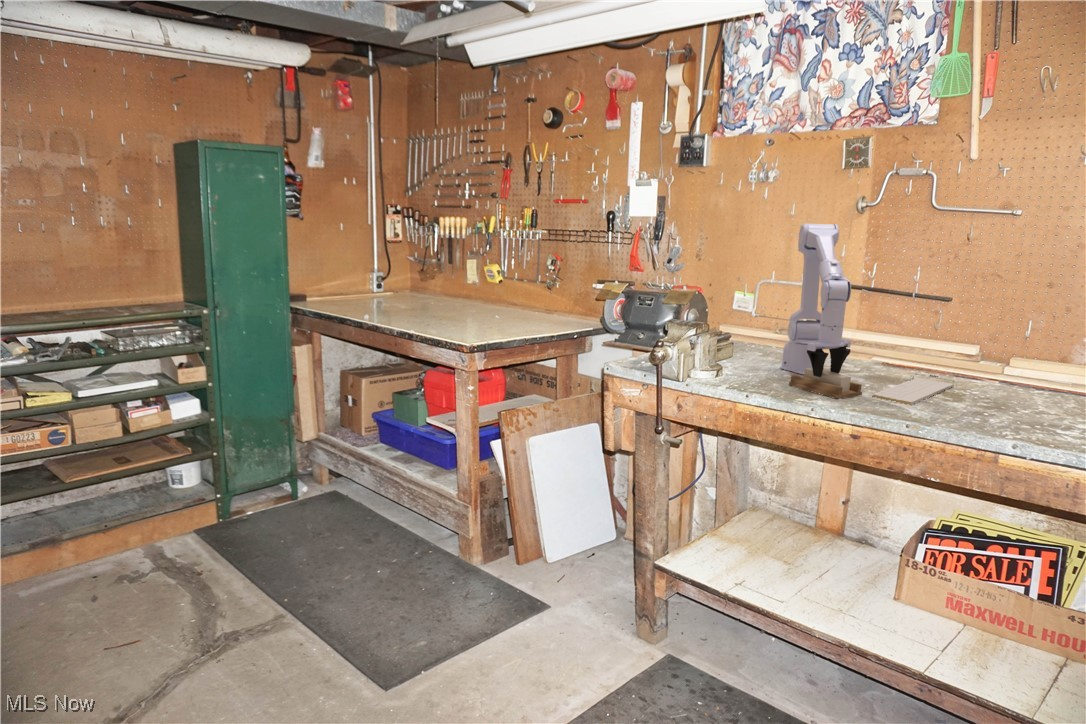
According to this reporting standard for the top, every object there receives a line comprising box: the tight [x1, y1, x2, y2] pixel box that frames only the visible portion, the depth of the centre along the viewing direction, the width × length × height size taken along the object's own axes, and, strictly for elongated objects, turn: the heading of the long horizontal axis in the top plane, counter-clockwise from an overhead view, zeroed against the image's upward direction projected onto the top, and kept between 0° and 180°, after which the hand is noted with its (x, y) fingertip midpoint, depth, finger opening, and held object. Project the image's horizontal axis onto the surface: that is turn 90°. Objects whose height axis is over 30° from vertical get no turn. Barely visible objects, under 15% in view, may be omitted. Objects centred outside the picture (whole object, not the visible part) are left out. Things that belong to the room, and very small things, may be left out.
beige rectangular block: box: [803, 368, 852, 392], centre depth 185 cm, size 12×4×4 cm, turn 28°
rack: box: [788, 373, 863, 399], centre depth 186 cm, size 16×9×3 cm, turn 28°
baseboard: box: [868, 373, 955, 406], centre depth 187 cm, size 31×3×12 cm
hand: (826, 375), depth 185 cm, fingers open, 6 cm apart
